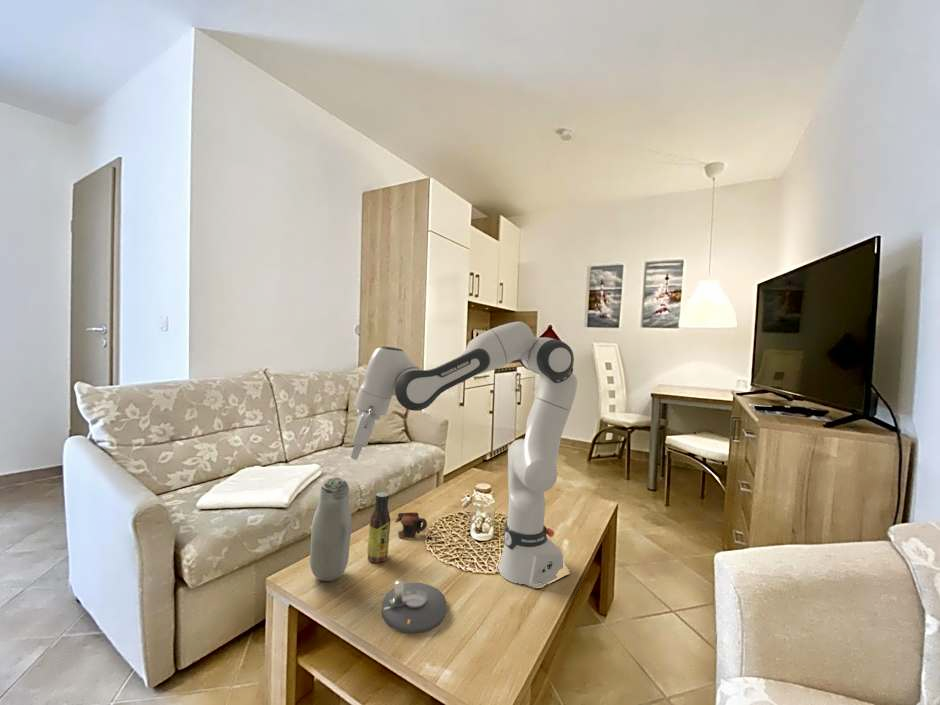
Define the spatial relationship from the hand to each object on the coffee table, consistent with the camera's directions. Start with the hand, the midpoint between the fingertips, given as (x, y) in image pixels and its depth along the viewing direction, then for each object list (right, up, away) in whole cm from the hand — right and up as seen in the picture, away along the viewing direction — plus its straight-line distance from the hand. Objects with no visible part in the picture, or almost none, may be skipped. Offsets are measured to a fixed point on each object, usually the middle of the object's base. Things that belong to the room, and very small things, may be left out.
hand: (355, 452), depth 107 cm
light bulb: (+15, -36, -6) cm, 40 cm away
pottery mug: (+10, -37, +34) cm, 51 cm away
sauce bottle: (+2, -37, +17) cm, 40 cm away
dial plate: (+16, -39, -5) cm, 42 cm away
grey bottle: (-9, -36, +5) cm, 38 cm away
